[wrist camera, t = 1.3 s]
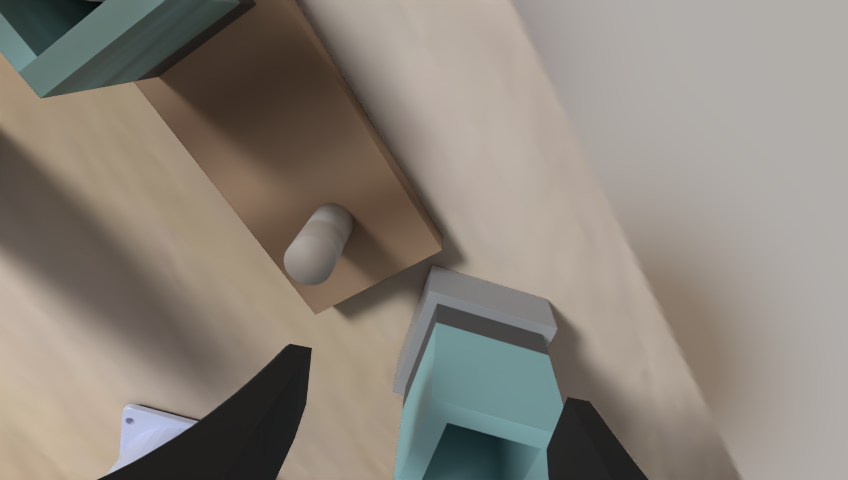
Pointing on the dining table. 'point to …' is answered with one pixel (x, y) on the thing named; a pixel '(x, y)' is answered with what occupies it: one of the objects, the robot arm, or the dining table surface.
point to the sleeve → (477, 402)
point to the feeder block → (474, 300)
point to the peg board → (245, 124)
